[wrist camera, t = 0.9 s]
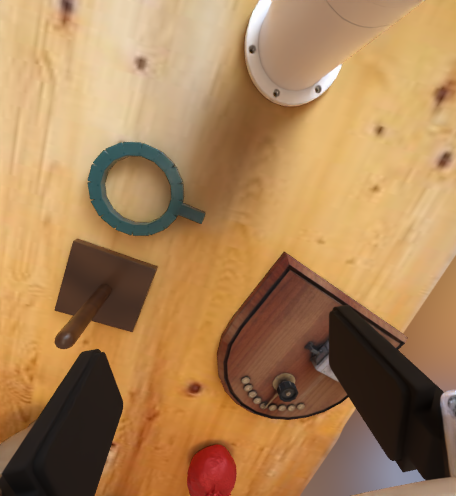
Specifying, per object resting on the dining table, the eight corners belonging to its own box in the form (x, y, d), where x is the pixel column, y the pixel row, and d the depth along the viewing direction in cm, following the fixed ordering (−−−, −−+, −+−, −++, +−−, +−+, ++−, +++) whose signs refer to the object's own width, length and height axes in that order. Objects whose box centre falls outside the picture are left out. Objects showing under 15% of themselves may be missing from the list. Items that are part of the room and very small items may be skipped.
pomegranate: (182, 446, 50) (178, 505, 42) (227, 433, 51) (233, 489, 42) (196, 474, 54) (195, 534, 45) (239, 461, 54) (246, 518, 45)
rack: (77, 238, 35) (7, 278, 22) (157, 266, 37) (135, 316, 25) (58, 306, 38) (-13, 374, 25) (134, 327, 40) (103, 399, 28)
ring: (107, 126, 31) (102, 124, 29) (219, 177, 34) (220, 178, 32) (83, 213, 34) (77, 215, 32) (188, 252, 37) (188, 256, 35)
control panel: (426, 353, 42) (315, 457, 48) (403, 334, 47) (304, 431, 53) (296, 263, 34) (182, 403, 40) (284, 251, 39) (184, 377, 45)
